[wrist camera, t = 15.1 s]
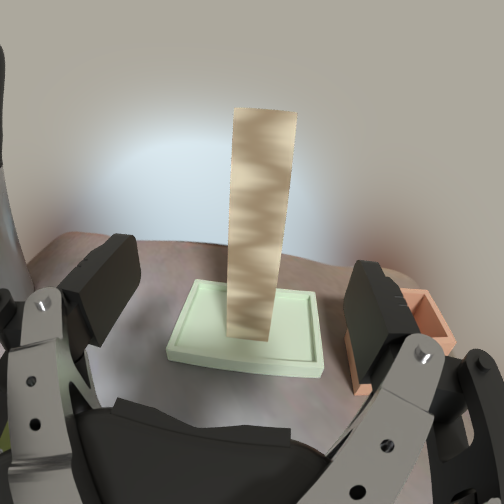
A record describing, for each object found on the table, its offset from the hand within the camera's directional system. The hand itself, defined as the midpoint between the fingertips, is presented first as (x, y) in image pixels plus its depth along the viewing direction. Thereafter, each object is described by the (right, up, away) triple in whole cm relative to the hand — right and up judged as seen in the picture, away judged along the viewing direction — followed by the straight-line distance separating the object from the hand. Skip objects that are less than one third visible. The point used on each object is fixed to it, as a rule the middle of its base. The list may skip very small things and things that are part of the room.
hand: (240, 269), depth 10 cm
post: (0, -7, +18) cm, 19 cm away
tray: (0, -7, +18) cm, 20 cm away
